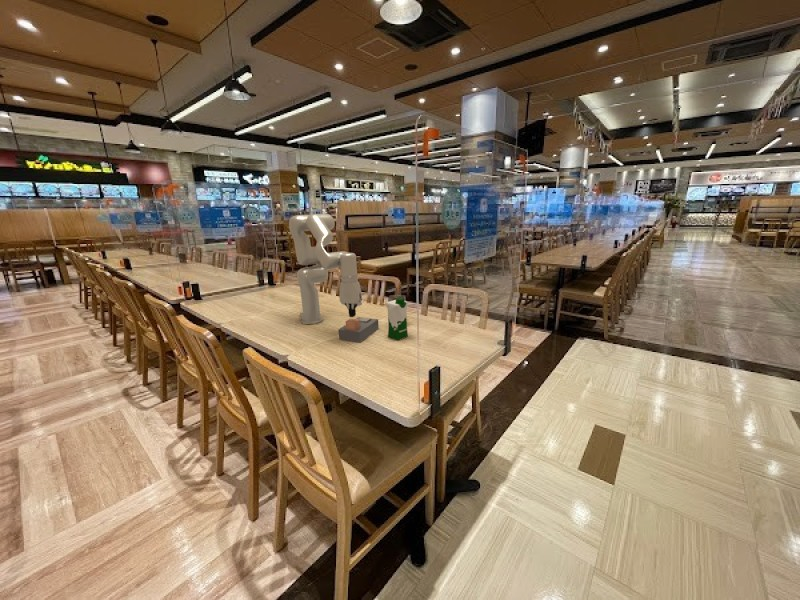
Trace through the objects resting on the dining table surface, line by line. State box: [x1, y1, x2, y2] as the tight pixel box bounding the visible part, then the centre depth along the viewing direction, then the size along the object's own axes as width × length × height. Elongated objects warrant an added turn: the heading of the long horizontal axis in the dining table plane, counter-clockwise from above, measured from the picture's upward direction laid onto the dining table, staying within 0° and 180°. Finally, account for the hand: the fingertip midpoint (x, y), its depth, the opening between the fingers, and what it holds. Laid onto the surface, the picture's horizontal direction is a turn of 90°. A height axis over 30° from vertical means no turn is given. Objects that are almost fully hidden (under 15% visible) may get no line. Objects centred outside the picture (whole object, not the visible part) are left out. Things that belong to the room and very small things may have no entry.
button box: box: [337, 316, 380, 344], centre depth 163 cm, size 12×20×6 cm, turn 158°
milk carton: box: [385, 298, 409, 341], centre depth 156 cm, size 9×9×20 cm
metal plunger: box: [359, 317, 372, 323], centre depth 168 cm, size 5×5×5 cm
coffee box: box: [387, 294, 407, 302], centre depth 174 cm, size 9×6×16 cm
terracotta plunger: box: [344, 318, 360, 331], centre depth 156 cm, size 5×5×5 cm
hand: (352, 316), depth 155 cm, fingers closed
